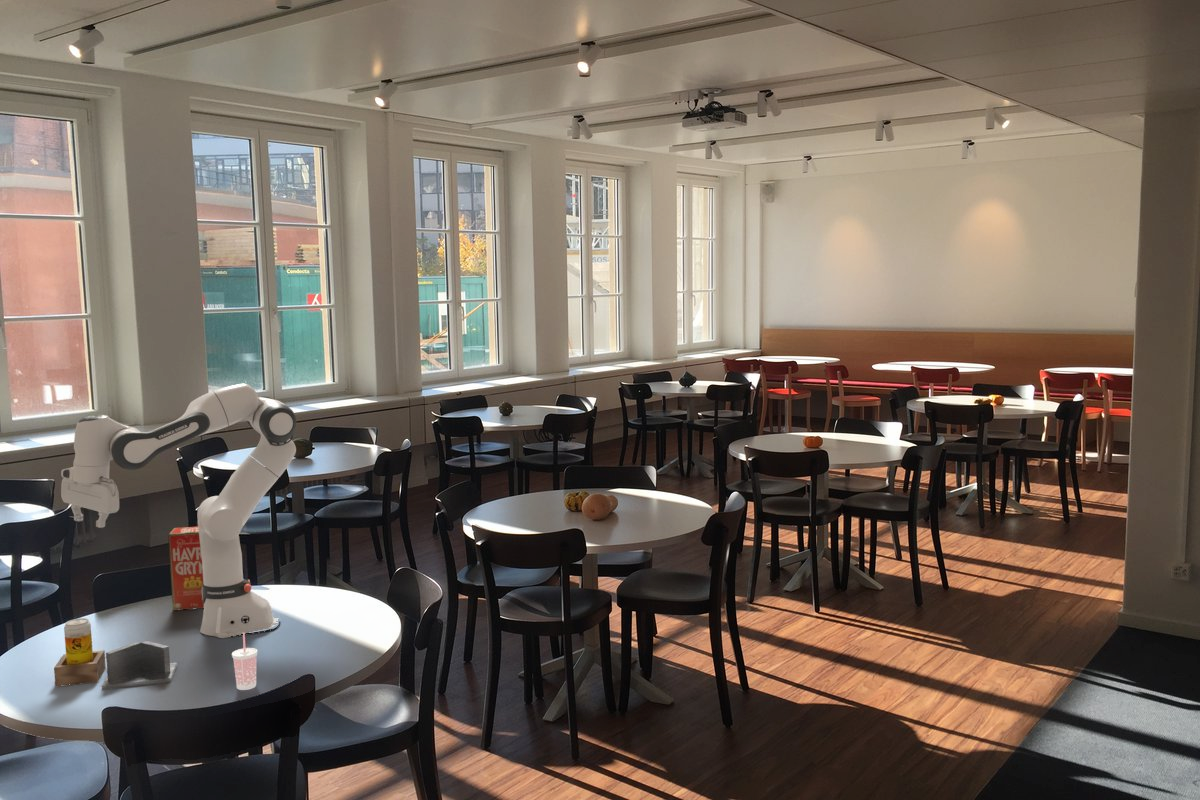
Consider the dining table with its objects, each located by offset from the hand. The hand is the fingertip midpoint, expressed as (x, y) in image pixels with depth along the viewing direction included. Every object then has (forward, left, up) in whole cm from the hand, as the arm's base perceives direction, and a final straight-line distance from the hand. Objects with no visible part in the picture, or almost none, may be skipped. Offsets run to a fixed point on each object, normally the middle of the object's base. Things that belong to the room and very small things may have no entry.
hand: (89, 523), depth 267 cm
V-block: (-14, +22, -37) cm, 45 cm away
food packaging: (-21, -39, -37) cm, 58 cm away
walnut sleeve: (+1, +17, -37) cm, 41 cm away
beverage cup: (-41, +37, -37) cm, 67 cm away
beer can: (+1, +17, -37) cm, 41 cm away
